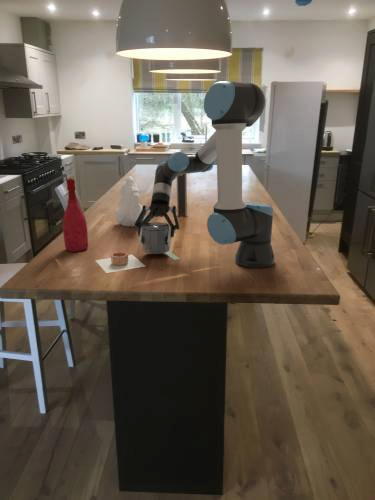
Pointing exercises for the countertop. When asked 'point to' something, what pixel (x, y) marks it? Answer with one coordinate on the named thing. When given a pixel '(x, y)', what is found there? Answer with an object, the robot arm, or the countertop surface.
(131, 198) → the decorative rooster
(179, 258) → the mat
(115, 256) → the bowl
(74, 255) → the countertop surface
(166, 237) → the grey ribbed cylinder
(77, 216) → the wine bottle
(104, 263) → the board
